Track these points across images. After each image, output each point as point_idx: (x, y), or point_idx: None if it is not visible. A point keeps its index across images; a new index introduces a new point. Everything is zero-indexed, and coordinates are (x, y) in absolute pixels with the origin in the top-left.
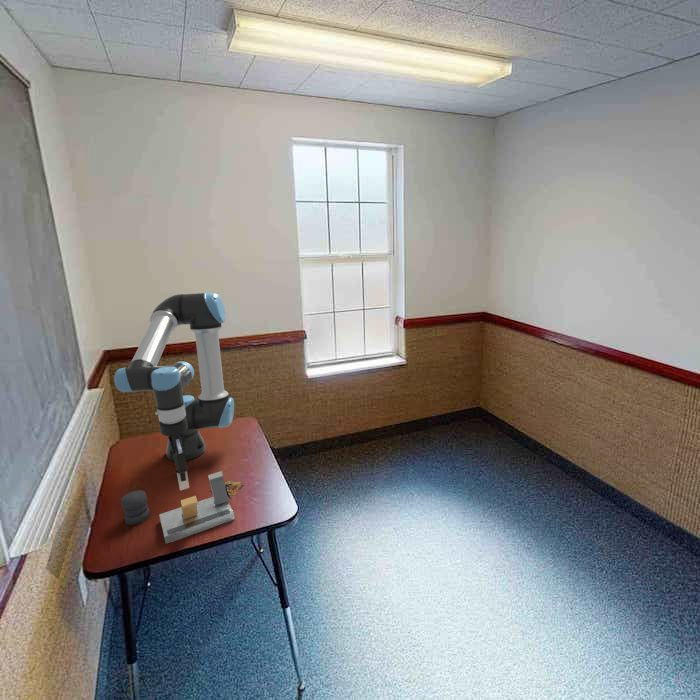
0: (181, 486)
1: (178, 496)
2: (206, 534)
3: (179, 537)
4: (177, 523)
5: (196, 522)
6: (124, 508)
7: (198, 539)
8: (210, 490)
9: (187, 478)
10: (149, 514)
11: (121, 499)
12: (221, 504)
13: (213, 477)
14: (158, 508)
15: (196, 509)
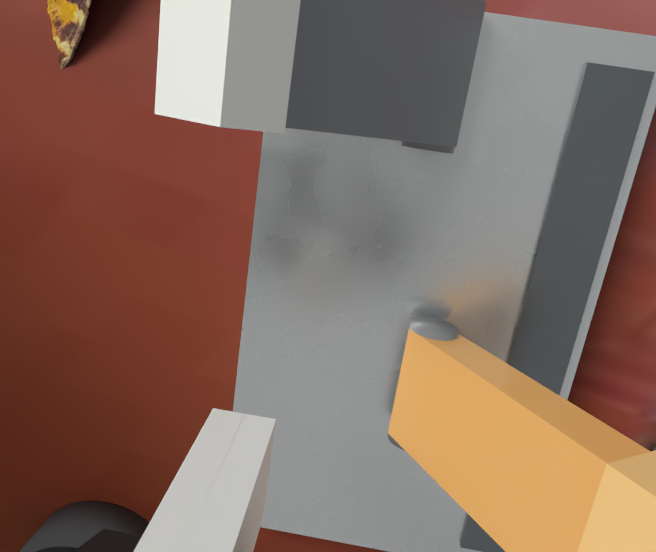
0: (254, 536)
1: (5, 296)
2: (624, 307)
3: None
4: None
5: (543, 365)
6: None
7: (629, 369)
8: (72, 55)
9: (242, 527)
10: (121, 513)
11: None
12: None
13: (277, 62)
14: (77, 446)
15: (523, 379)
